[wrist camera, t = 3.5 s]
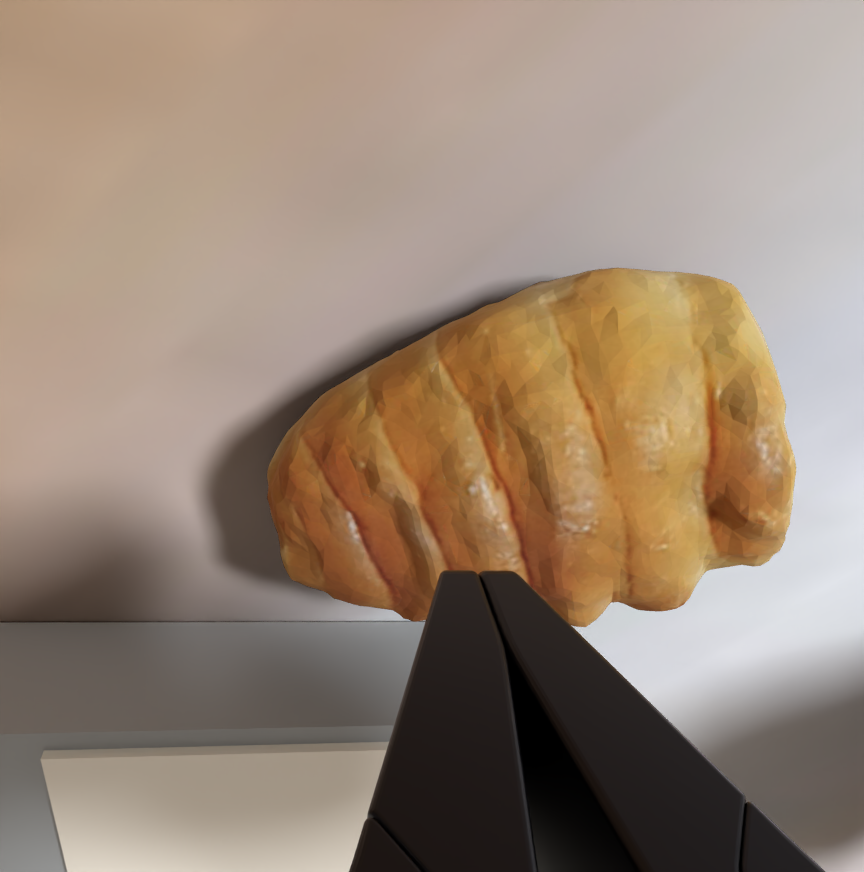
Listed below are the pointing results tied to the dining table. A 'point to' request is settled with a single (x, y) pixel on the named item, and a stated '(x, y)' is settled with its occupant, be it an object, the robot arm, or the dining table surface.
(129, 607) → the dining table surface
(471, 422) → the pastry
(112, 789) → the plinth
